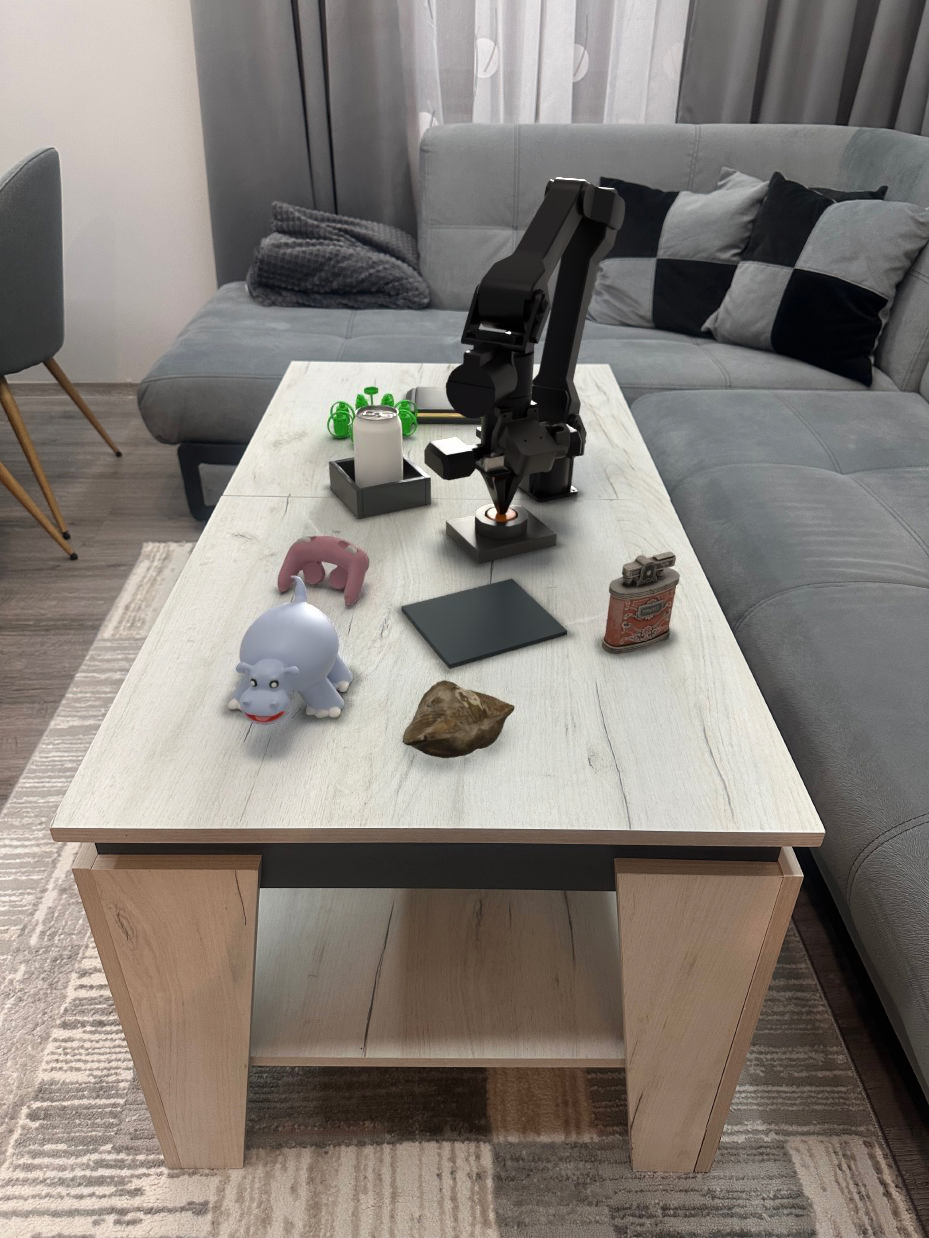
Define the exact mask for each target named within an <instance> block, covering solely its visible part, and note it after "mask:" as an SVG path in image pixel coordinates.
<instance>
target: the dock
mask: <svg viewBox="0 0 929 1238" xmlns="http://www.w3.org/2000/svg"><path fill="white" fill-rule="evenodd" d="M402 454H403V480H401V481H395V482H390V483H385V484H380V485H374V486H369V487H364V488H359V487H358V486H357V485H356V481H355V463H354V456H352V457H347V458H341V459H336V460H329V461H328V472H329V473H328V474H329V486H330V489H331V490H332V492H333V493H334V494H335V495H336V497H338V498H339V499H340V501H341V502H342V504H344V505H345V506H346V508H348V509H349V511H350V512H351V513H352V514H353V515H354V517H355V518H356V519H357V520H361V519H366V518H369V517H375V516H380V515H385V514H389V513H394V512H400V511H404V510H409V509H413V508H419V507H425V506H429V505H431V504H432V477H431V476H430V475H429V474H428V473H427V472H425V470H424V469H423V468H421V467H420V466H419V465H418V464H417V463H416V462H415V461H413V460H412V459H411V458H410V457H409V456H408V455H407V454H405V453H404V452H403V451H402Z"/></svg>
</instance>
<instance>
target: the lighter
mask: <svg viewBox="0 0 929 1238" xmlns="http://www.w3.org/2000/svg"><path fill="white" fill-rule="evenodd" d="M676 559H677V555H675V553H674V552H673V551H671V550H670V551H666V552H662V553H657V554H653V556H649V557H647V556H646V555H644V554H641V555H638V556H636V557H635V559H634V560H633V561H630V562H627V563H623V565H622V571H621V575H622V576H620V577H618V578H615V579H613V580H612V581H610V583H609V586H608V592H609V600H608V601H609V602H608V609H607V616H606V624H605V632H604V636H602V640H601V648H602V649H603V651H605V652H606V653H608V654H610V655H615V656H619V655H625V654H631V653H635V652H639V651H644V650H647V649H649V648H653V647H655V646H657V645H660V644H662V643H664V642H665V641H667V640H668V639H669V638H670V634H671V627H670V625H671V619H672V613H673V606H674V601H675V596H676V589H677V586H678V585H679V583H680V578H681V575H680V573H679V572H678V571H677V570H675V569H673V568H671V567H675V565H676Z"/></svg>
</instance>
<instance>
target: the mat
mask: <svg viewBox="0 0 929 1238" xmlns="http://www.w3.org/2000/svg"><path fill="white" fill-rule="evenodd" d="M401 612H402V613H403V614H404V616H405V617H406V618H407V619H408V621H410V622H411V624H412V626H413V627H414V628H415V629H416V630H417V632H418V633H419V634H420V636H421V637H423V639H424V640H425V641H426V642H427V644H428V645H429V646H430V647H431V648H432V650H433V651H434V652H435V654H437V656H438V657H439V659H441V661H442V662H443V663H444V664H445V665H446V667H447V668H448V669H449V670H451V669H454V668H458V667H462V666H464V665H468V664H472V663H475V662H479V661H482V660H485V659H488V658H492V657H496V656H499V655H502V654H503V655H504V654H506V653H510V652H513V651H517V650H520V649H524V648H527V647H531V646H534V645H538V644H541V643H544V642H548V641H552V640H555V639H558V638H561V637H562V638H563V637H565V636H567V635H568V630H567V629H566V628H565V627H564V626H563V625H562V624H561V623H560V622H559V621H558V620H557V619H556V618H555V617H554V616H553V615H551V613H550V612H549V611H547V610H546V609H545V608H544V607H543V606H542V605H541V604H540V603H539V602H538V601H536V600H535V598H533V597H532V596H531V595H530V594H529V593H528V591H526V590H525V589H524V588H523V587H522V586H521V585H520V584H519V583H517V582H516V581H515V580H514V579H513V578H508V579H504V580H501V581H497V582H493V583H489V584H484V585H481V586H477V587H473V588H469V589H465V590H461V591H457V592H452V593H449V594H445V595H441V596H437V597H433V598H429V599H425V600H420V601H417V602H413V603H408V604H406V605H402V606H401Z"/></svg>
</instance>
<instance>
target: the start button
mask: <svg viewBox="0 0 929 1238" xmlns="http://www.w3.org/2000/svg"><path fill="white" fill-rule="evenodd" d="M487 518H488V519H490V520H493V521H496V522H508V521H512V520H515V519H516V513H515V511H513V510H512V509H508V511H507V513H506V514H502V515H500V514H499V513H498V512H497V511H496V508H492V509H490V510H488V512H487Z"/></svg>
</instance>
